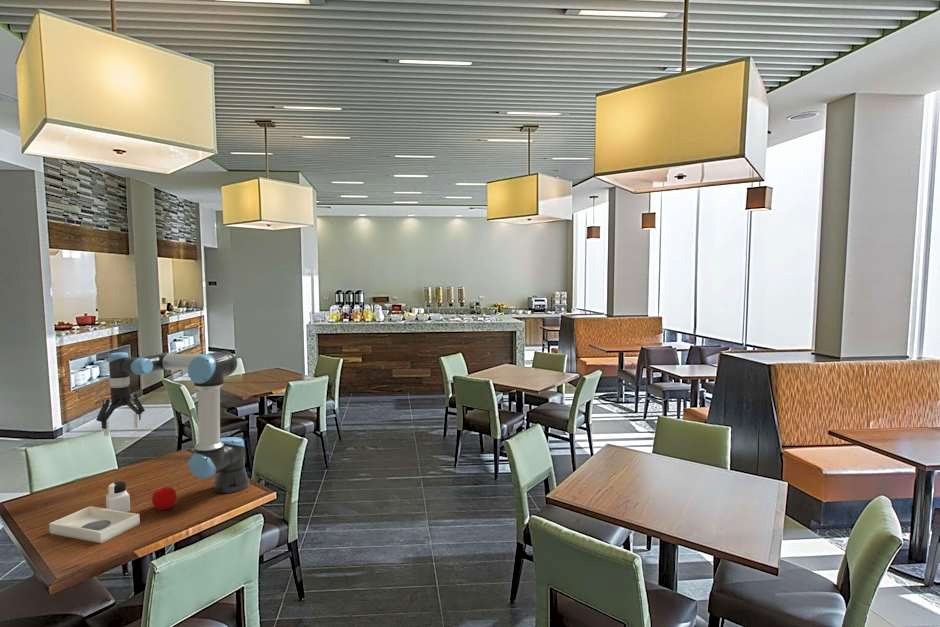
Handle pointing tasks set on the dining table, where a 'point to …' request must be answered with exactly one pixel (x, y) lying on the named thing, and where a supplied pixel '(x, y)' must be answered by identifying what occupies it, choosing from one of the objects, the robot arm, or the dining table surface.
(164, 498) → the fruit
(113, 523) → the tray
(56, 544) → the dining table surface
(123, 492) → the medicine bottle
